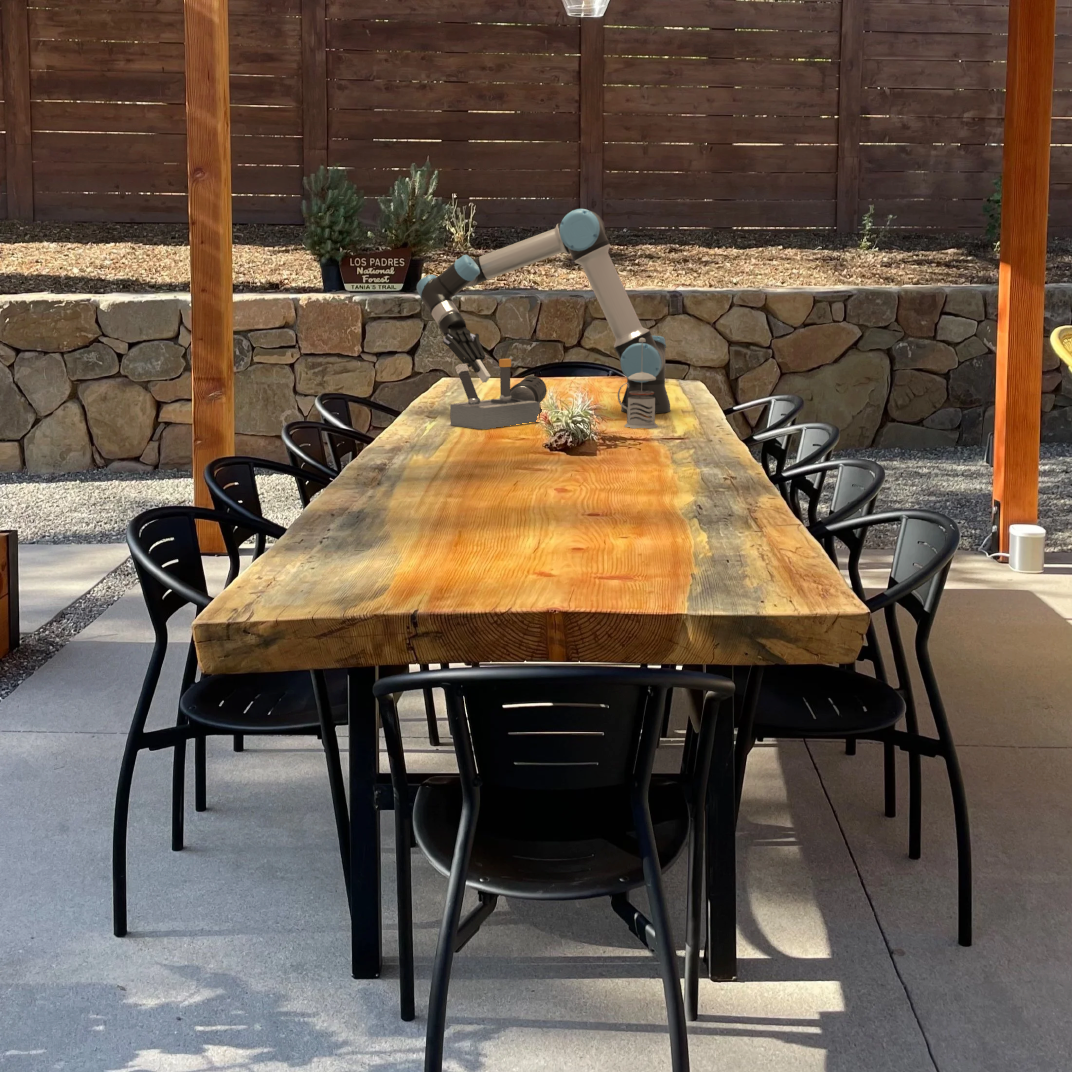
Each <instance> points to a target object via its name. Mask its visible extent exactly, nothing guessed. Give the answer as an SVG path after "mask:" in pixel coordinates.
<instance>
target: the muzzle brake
mask: <svg viewBox="0 0 1072 1072" xmlns="http://www.w3.org/2000/svg"><path fill="white" fill-rule="evenodd" d="M547 390H548V389H547V385H546V383H545V381H544V380H543V378H542V379H541V377H538V376H535V375H530V376H527V377H524V378H523V379H522V380H520V382H518V383H516V384H514V385H513V386H512V387H510V395H511V398H513V399H520V400H527V401H536V402H540V403H542V401H544V399H545V397H546V396H547Z"/></svg>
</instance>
